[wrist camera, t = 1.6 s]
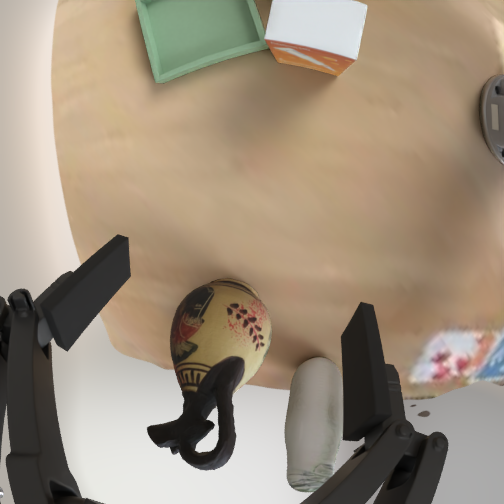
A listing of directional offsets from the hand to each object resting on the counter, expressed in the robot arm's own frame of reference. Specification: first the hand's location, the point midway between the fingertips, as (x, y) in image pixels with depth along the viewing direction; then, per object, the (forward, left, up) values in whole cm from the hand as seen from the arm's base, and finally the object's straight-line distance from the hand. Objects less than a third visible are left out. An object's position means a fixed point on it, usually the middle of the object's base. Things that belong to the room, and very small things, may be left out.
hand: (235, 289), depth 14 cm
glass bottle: (0, +39, -26) cm, 46 cm away
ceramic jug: (+12, +20, -26) cm, 34 cm away
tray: (+5, -25, -25) cm, 36 cm away
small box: (-8, -16, -26) cm, 31 cm away
